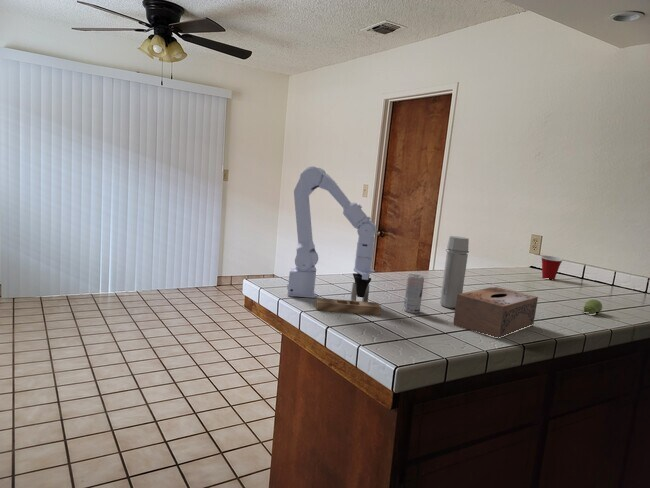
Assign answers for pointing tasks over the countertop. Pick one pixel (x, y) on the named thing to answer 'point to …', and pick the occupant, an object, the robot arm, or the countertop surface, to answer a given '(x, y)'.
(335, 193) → the robot arm
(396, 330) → the countertop surface
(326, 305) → the rail
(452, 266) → the water bottle
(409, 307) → the energy drink
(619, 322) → the countertop surface
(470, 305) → the tissue box cover
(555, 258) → the plastic cup
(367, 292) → the brushed metal block
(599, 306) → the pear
